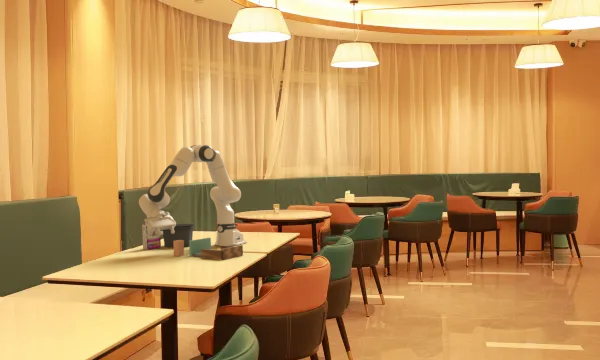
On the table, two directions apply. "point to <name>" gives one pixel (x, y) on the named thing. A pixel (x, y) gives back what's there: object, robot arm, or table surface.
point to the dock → (223, 252)
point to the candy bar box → (150, 238)
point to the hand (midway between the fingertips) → (167, 233)
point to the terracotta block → (178, 247)
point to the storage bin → (178, 234)
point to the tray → (199, 246)
